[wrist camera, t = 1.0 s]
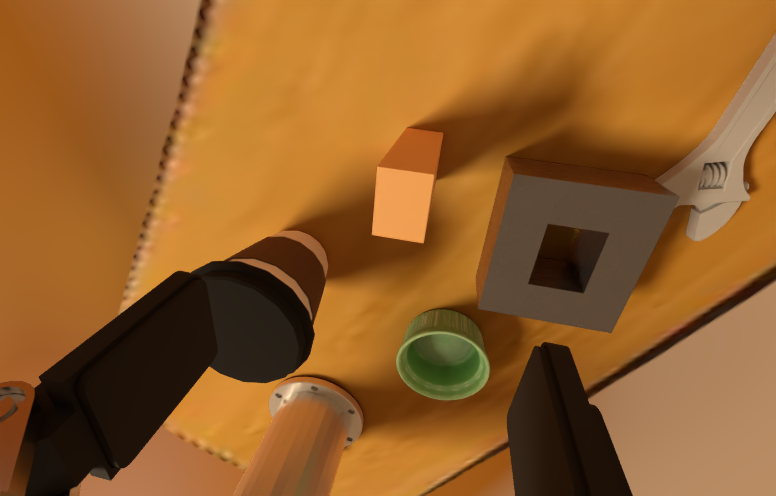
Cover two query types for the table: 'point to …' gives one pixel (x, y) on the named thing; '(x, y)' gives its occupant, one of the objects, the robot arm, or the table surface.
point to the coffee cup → (266, 306)
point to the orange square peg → (407, 185)
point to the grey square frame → (590, 250)
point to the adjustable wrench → (725, 153)
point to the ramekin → (443, 356)
